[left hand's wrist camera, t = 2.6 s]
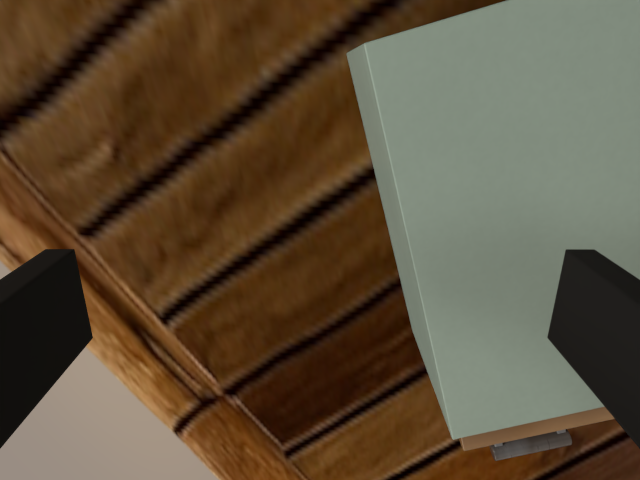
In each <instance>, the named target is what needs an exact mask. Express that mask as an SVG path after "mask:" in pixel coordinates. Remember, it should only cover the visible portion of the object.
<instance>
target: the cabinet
mask: <svg viewBox="0 0 640 480" xmlns="http://www.w3.org/2000/svg"><path fill="white" fill-rule="evenodd" d="M347 58H348V62H349V66H350V70H351V75H352V79H353V83H354V87H355V91H356V96H357V100H358V104H359V108H360V112H361V117H362V121H363V125H364V129H365V133H366V138H367V142H368V146H369V150H370V154H371V158H372V163H373V167H374V171H375V175H376V179H377V184H378V188H379V192H380V196H381V200H382V205H383V209H384V213H385V217H386V221H387V226H388V230H389V234H390V238H391V242H392V246H393V251H394V255H395V259H396V263H397V267H398V272H399V276H400V280H401V284H402V288H403V293H404V297H405V301H406V305H407V309H408V314H409V318H410V322H411V326H412V330H413V333H414V336H415V339H416V342H417V344H418V347H419V350H420V352H421V355H422V358H423V361H424V363H425V366H426V369H427V371H428V374H429V377H430V380H431V382H432V385H433V388H434V391H435V393H436V396H437V399H438V401H439V404H440V407H441V410H442V412H443V415H444V418H445V420H446V423H447V426H448V429H449V431H450V434H451V437H452V439H458V438H463V437H467V436H472V435H477V434H481V433H486V432H490V431H495V430H500V429H504V428H509V427H513V426H518V425H523V424H527V423H532V422H536V421H541V420H546V419H550V418H555V417H559V416H564V415H569V414H573V413H578V412H582V411H587V410H592V409H596V408H601V407H605V406H604V405H603V404H602V403H601V402H600V400H599V399H598V398H597V397H596V396H595V394H594V393H593V392H592V391H591V390H590V388H589V387H588V386H587V385H586V384H585V382H584V381H583V380H582V379H581V378H580V376H579V375H578V374H577V373H576V372H575V370H574V369H573V368H572V367H571V366H570V364H569V363H568V362H567V361H566V360H565V358H564V357H563V356H562V355H561V354H560V352H559V351H558V350H557V349H556V348H555V346H554V345H553V344H552V343H551V342H550V340H549V339H548V338H547V337H548V332H549V327H550V322H551V317H552V313H553V308H554V303H555V298H556V294H557V289H558V284H559V279H560V274H561V270H562V265H563V260H564V255H565V251H566V249H595V250H596V251H598V252H599V253H601V254H602V255H604V256H605V257H607V258H608V259H610V260H611V261H613V262H614V263H616V264H617V265H619V266H620V267H622V268H623V269H625V270H626V271H628V272H629V273H631V274H632V275H634V276H635V277H637V278H638V279H640V0H507V1H503V2H500V3H497V4H493V5H490V6H487V7H483V8H480V9H477V10H473V11H470V12H467V13H463V14H460V15H457V16H453V17H450V18H447V19H443V20H440V21H437V22H433V23H430V24H427V25H423V26H420V27H417V28H413V29H410V30H407V31H403V32H400V33H397V34H393V35H390V36H387V37H383V38H380V39H377V40H373V41H370V42H367V43H364V44H362V45H360V46H359V47H357V48H355V49H353V50H351V51H350V52H348V53H347Z"/></svg>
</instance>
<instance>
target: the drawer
mask: <svg viewBox="0 0 640 480" xmlns="http://www.w3.org/2000/svg"><path fill="white" fill-rule="evenodd" d="M611 419H615V418H614V417H613V416H612V415H611V413H610V412H609V411H608V410H607V409H606V408H605V407H601V408H596V409H592V410H587V411H582V412H578V413H573V414H569V415H564V416H559V417H555V418H550V419H546V420H541V421H536V422H532V423H527V424H523V425H518V426H513V427H509V428H504V429H500V430H495V431H490V432H486V433H481V434H477V435H472V436H467V437H463V438H459V440H460V443H461V445H462V448H463V450H464V451H466V450H471V449H476V448H480V447H485V446H489V447H490V450H491V453H492V456H493V458H494V460H495V461H497V460H502V459H507V458H511V457H516V456H521V455H526V454H530V453H535V452H540V451H545V450H549V449H554V448H559V447H564V446H568V445H571V444H572V440H571V436H570V434H569V432H568V430H567V429H569V428H574V427H578V426H583V425H588V424H592V423H597V422H602V421H606V420H611Z"/></svg>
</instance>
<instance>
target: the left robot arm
mask: <svg viewBox="0 0 640 480" xmlns="http://www.w3.org/2000/svg"><path fill="white" fill-rule="evenodd" d="M92 338H93V337H92V332H91V327H90V322H89V318H88V313H87V308H86V303H85V298H84V294H83V289H82V284H81V279H80V275H79V270H78V265H77V260H76V255H75V251H74V249H45V250H44V251H42V252H41V253H39V254H38V255H36V256H35V257H33V258H32V259H30V260H29V261H27V262H26V263H24V264H23V265H21V266H20V267H18V268H17V269H15V270H14V271H12V272H11V273H9V274H8V275H6V276H5V277H3V278H2V279H0V448H1V447H2V446H3V445H4V443H5V442H6V441H7V440H8V439H9V437H10V436H11V435H12V434H13V433H14V431H15V430H16V429H17V428H18V427H19V425H20V424H21V423H22V422H23V421H24V419H25V418H26V417H27V416H28V415H29V413H30V412H31V411H32V410H33V409H34V407H35V406H36V405H37V404H38V403H39V401H40V400H41V399H42V398H43V397H44V395H45V394H46V393H47V392H48V391H49V390H50V388H51V387H52V386H53V385H54V384H55V382H56V381H57V380H58V379H59V378H60V376H61V375H62V374H63V373H64V372H65V370H66V369H67V368H68V367H69V366H70V364H71V363H72V362H73V361H74V360H75V358H76V357H77V356H78V355H79V354H80V352H81V351H82V350H83V349H84V348H85V346H86V345H87V344H88V343H89V342H90V340H91V339H92ZM547 338H548V339H549V340H550V342H551V343H552V344H553V345H554V346H555V348H556V349H557V350H558V351H559V352H560V354H561V355H562V356H563V357H564V358H565V360H566V361H567V362H568V363H569V364H570V366H571V367H572V368H573V369H574V370H575V372H576V373H577V374H578V375H579V376H580V378H581V379H582V380H583V381H584V382H585V384H586V385H587V386H588V387H589V388H590V390H591V391H592V392H593V393H594V394H595V396H596V397H597V398H598V399H599V400H600V402H601V403H602V404H603V405H604V406H605V408H606V409H607V410H608V411H609V412H610V413H611V415H612V416H613V417H614V418H615V419H616V421H617V422H618V423H619V424H620V425H621V427H622V428H623V429H624V430H625V431H626V433H627V434H628V435H629V436H630V437H631V439H632V440H633V441H634V442H635V443H636V445H637V446H638V447H639V448H640V279H638V278H637V277H635V276H634V275H632V274H631V273H629V272H628V271H626V270H625V269H623V268H622V267H620V266H619V265H617V264H616V263H614V262H613V261H611V260H610V259H608V258H607V257H605V256H604V255H602V254H601V253H599V252H598V251H596V250H595V249H566V251H565V255H564V260H563V265H562V270H561V274H560V279H559V284H558V289H557V294H556V298H555V303H554V308H553V313H552V317H551V322H550V327H549V332H548V337H547Z"/></svg>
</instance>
